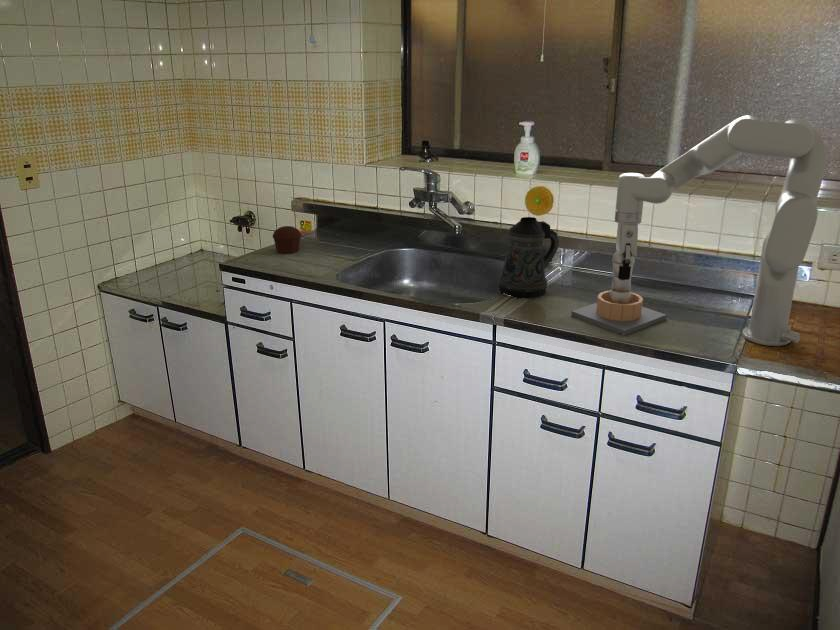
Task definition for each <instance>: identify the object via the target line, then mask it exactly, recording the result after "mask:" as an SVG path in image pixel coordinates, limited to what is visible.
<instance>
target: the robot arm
mask: <svg viewBox="0 0 840 630" xmlns="http://www.w3.org/2000/svg"><path fill="white" fill-rule="evenodd" d="M827 153H828V152H827V147H826V143H825V141H824V139H823V137H822V135H821V134H820V132H819V131H818V130H817V129H816V128H815V126H813V125H812V124H810V123H809V122H807V121H805V120H803V119H799V118H792V119H789V120H787V121H784V122H776V121H769V120H768V121H767V120H760V119H759V118H757V117H756V116H754V115H742V116H740V117H738V118H735V119H733V120H732V121H731V122H730V123H728V124H726V125H725V126H723V127H722V128H721V129H719V130H718V131H716V132H714V133H713V134H712V135H710V136H709V137H707V138H705V139H704V140H702V141H701V142H700V143H698V144H696V145H695V146H694V147H692V148H690V149H689V150H688V151H686V152H685V153H683V154H682V155H680V156H679V157H678V158H676V159H674V160H673V161H671V162H669V163H668V164H666V165H664V167H662V168H660V169H659V170H657V171H656V172H654V173H653V174H652V175H651V176H650V177H646V176H644V174H642V173H638V172H625V173H621V174H620V175H619V177H618V180H617V189H616V200H615V201H616V203H615V212H614V213H615V214H614V222H615V223H617V230H616V238H615V239H616V242H615V245H616V246H615V249H616V251H618V254H619V256H620V257H621V266H619V275H618V278H619V279H623V280H629V279H630V270H631V254H632V256H633V257H635V258H636V257H637V250H638V240H639V239H638V237H639V224H641V223H642V219H643V211H644V210H643V208H644V202H645V203H650V204H656V205H657V204H658V205H659V204H663V203H666V202H667V201H668V200H669V199H670V198H671V195H672V194H673V193H674V192H675V191H676V190H678V189H679V188H681V187H682V186H685V185H686V184H688V183H689V182H690V181H692V180H694V179H696V178H698V177H700V176H701V177H702V176H704V175H709V174H711V173H713V172H716V171H717V170H718V169H721V167H723V166H724V165H726V164H728V163H729V162H731V161H732V160H734V159H736V158H737V157H738V156H740V155H742V154H748V155H755V156H763V157H770V158H771V157H772V158H781V159H789V163H788V167H787V172H786V175H785V180H784V183H783V186H782V189H781V192H780V195H779V198H778V199H777V202H776V205H775V212H774V213H775V214H774V220H773V222H772V226H771V229H770V232H769V233H768V234H767V235H766V236H765V238H764V239H763V242H762V246H761V253H760V262H759V269H758V273H757V280H756V284H755V292H754V297H753V303H752V308H751V315H750V320H749V326H746V327H744V328H743V329H742V334H741V335H742V337H744V339H746V340H747V341H750V342H752V343H754V344H757V345H764V346H770V347H771V346H772V347H778V346H780V347H782V346H785V345H788V344H789V343H791V342H793V343H795V344H796V343H797V344H798V343H799V342H800V339H801V336H800V335H801V334H800V333H798V332H795V331H793V330H792V329H791V328H792V325H790V324H789V319H790V314H791V309H792V304H793V303H792V302H793V298H794V292H795V288H796V285H797V277H798V272H799V267H800V266H801V265H802V263H803V262H804V259H805V258H806V254H807V251H808V248H809V246H810V242H811V240H812V236H813V234H814V230H815V227H816V226H817V225H816V224H817V220H818V215H819V212H818V207H817V201H818V200H817V199H818V196H819V194H820V193H819V192H820V191H821V186H822V183H823V179H824V175H825V173H826V167H827V162H828V154H827ZM623 254H625V256H623ZM623 258H625V259H624V260H623Z"/></svg>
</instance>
